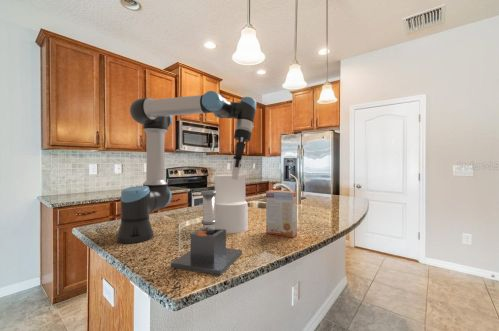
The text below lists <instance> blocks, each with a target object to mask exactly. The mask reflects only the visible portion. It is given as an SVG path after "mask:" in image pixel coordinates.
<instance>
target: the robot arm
mask: <svg viewBox="0 0 499 331" xmlns="http://www.w3.org/2000/svg"><path fill="white" fill-rule="evenodd" d="M257 104H258V103H257V100H256V99H255V98H253V97H251V96H244V97H241V99H240V101H236V102H235V101H229V100H228V99H226V98H225V97H224V96H222V95H221V94H220V93H219V92H217V91H214V90H209V91H206V92H205V93H203V94H199V95H189V96H179V97H178V96H177V97H176V96H175V97H168V98H166V97H165V98H157V99H155V98H152V97H142V98H141V97H140V98H137V99H136V100H134V101H133V102H132V103H131V105H130V107H129V114H130V116H131V117H132V119H133V120H134V121H135V122H136V123H138V124H140V125H142V127H143V128H142V129H143V131H144V132H145V133H146V162H145V164H146V169H145V170H146V175H145V177H146V178H145V179H146V180H145V181H144V182H143V184H142V185H135V186H129V187H126V188H124V189H122V190H121V193H120V225H119V228H118V232H117V234H116V242H117V243H120V244H135V243H141V242H145V241H149V240H151V239H152V238H153V237H154V230H153V228H152V224H151V222H150V212H153V211H157V210H162V209H163V208H166V207H167V206H168V205H169V204H170V203H171V201H172V197H173V196H172V195H173V194H172V191H171V189H170V188H169V187H168V182H167V181H166V180H165V141H166V140H165V138H166V137H165V136H166V133H167V132H168V128H169V127H170V125H172V122H173V116H174V117H175V116H183V115H198V114H212V113H213V115H214V117H215V118H220V119H234V120H236V123H235V128H234V134H233V139H234V140H236V146H235V155H234V156H233V157H232V159H233V165H232V166H233V167H232V172H231V175H232V179H234V180H237V179H238V175H240V174H239V173H240V169H241V167H242V164H241V162H242V159H243V154H244V151H245V147H246V143H248V142H251V138H252V131H253V129H254V128H255V125H254V123H255V122H254V120H255V116H256V111H257Z"/></svg>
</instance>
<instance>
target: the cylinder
mask: <svg viewBox="0 0 499 331" xmlns="http://www.w3.org/2000/svg"><path fill="white" fill-rule="evenodd" d="M246 181H247V180H246V174H239V175H238V179H237V180H234V179H232V174H219V175H218V174H216V175H214V191H216V195H214V219H215V220H216V223H215V229H225V230H226V234H229V235H230V234H239V233H244V232H246V231H247V230H248V226H249V225H248V221H249V220H248V212H249V211H248V209H249V208H248V207H249V206H248V201H246V200H247V199H246V198H247V197H246V194H247V193H246V189H247V188H246Z"/></svg>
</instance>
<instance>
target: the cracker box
mask: <svg viewBox="0 0 499 331" xmlns="http://www.w3.org/2000/svg"><path fill="white" fill-rule="evenodd" d="M265 193H266V195H265V200H266V202H265V203H266V204H265V207H266V208H265V210H266V211H265V213H266V214H265V215H266V216H265V217H266V218H265V223H266V224H265V226H266V228H265V230H266V232H265V233H266V234H269V235H276V236H282V237H287V238H294V237H295V236H297V235H298V195H297V194H298V191H294V190H293V191H291V190H278V189H276V190H275V189H274V190H272V189H271V190H266V191H265Z"/></svg>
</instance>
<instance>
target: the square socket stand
mask: <svg viewBox="0 0 499 331" xmlns="http://www.w3.org/2000/svg"><path fill="white" fill-rule="evenodd" d="M189 235H190V241H189V242H190V245H189V246H190V250H189V251H187V252H186V253H184V254H183V255H181V256H180V257H178V258H176V259H175V260H173V261H171V262H170V268H174V269H179V270H186V271H192V272H196V273H197V272H198V273H203V274H209V275H213V276H222V275H223V274H224V273H225V272H227V271H226V270H228V269H229V268H230V266H232V265H233V264H234V263H235V262H236V261H237V260H238V259H239V258H240V257H241V256H242V255H243V249H235V248H228V247H227V245H226V244H227V233H226V230H225V229H215V234H213V235H208V234H207V231H203V227H202V228H200V229H198V230H196V231H194V232H192V233H190V234H189Z"/></svg>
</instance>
